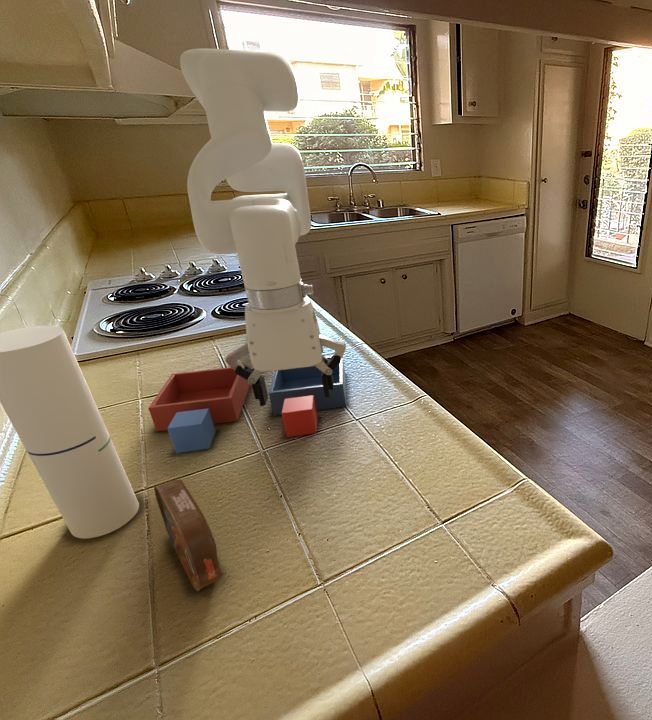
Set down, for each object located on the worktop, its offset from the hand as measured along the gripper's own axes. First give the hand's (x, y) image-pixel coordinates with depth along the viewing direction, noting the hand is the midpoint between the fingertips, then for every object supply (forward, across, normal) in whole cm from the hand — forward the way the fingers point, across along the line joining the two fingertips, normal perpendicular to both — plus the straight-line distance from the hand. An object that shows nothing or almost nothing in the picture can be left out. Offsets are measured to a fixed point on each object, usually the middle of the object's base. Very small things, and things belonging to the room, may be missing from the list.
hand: (296, 397), depth 74 cm
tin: (+6, +10, +24) cm, 27 cm away
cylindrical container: (+6, +23, +14) cm, 28 cm away
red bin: (+6, +17, -12) cm, 21 cm away
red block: (+6, 0, 0) cm, 6 cm away
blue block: (+6, +16, 0) cm, 17 cm away
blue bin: (+6, -1, -12) cm, 13 cm away
